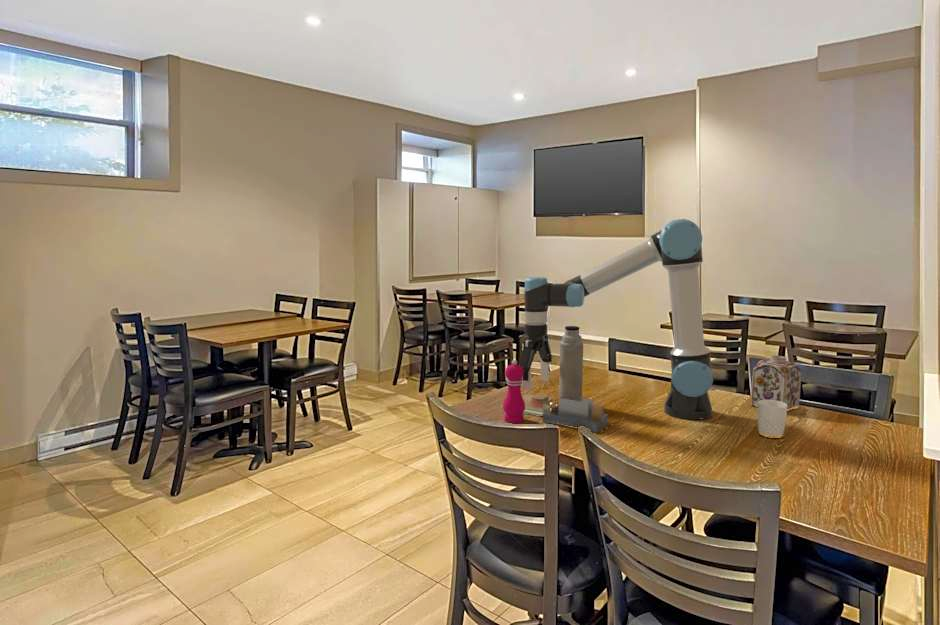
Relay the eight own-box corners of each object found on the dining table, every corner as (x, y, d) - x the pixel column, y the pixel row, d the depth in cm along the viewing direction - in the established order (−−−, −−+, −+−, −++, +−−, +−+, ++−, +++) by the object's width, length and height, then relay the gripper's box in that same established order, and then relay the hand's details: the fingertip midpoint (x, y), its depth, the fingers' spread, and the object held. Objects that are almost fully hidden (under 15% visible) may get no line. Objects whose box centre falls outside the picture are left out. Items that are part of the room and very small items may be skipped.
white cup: (751, 435, 178) (754, 403, 177) (761, 429, 184) (763, 398, 182) (779, 442, 173) (782, 409, 171) (788, 435, 178) (791, 403, 177)
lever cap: (552, 406, 203) (552, 395, 202) (543, 412, 197) (543, 400, 196) (526, 402, 208) (526, 391, 207) (516, 407, 202) (516, 396, 202)
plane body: (607, 423, 189) (608, 399, 188) (596, 432, 180) (597, 407, 179) (555, 413, 198) (556, 390, 197) (543, 422, 190) (543, 398, 189)
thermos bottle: (558, 401, 213) (559, 324, 208) (580, 401, 212) (582, 324, 208) (559, 407, 205) (561, 328, 201) (582, 408, 204) (584, 328, 200)
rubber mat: (555, 408, 204) (556, 405, 204) (542, 417, 195) (542, 414, 195) (527, 403, 210) (527, 400, 210) (512, 411, 201) (512, 408, 201)
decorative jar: (782, 414, 198) (787, 362, 195) (749, 406, 207) (752, 355, 204) (799, 408, 205) (804, 357, 202) (766, 400, 214) (770, 351, 211)
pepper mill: (499, 417, 194) (499, 358, 191) (519, 415, 197) (519, 356, 194) (508, 424, 188) (508, 363, 185) (528, 422, 190) (529, 361, 187)
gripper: (541, 317, 211) (542, 375, 214) (508, 328, 190) (508, 392, 193) (561, 318, 206) (561, 378, 209) (529, 329, 186) (529, 395, 189)
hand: (536, 385), depth 201 cm, fingers open, 13 cm apart
